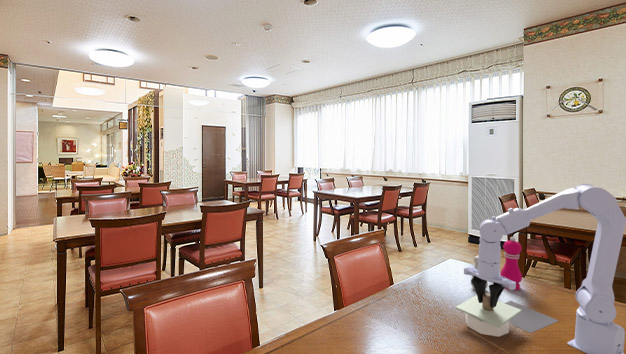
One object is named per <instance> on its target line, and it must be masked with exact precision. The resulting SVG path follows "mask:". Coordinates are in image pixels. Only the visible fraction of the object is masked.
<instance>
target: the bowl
mask: <svg viewBox="0 0 626 354" xmlns="http://www.w3.org/2000/svg"><path fill="white" fill-rule="evenodd" d="M464 317H465V322H466V326H467V327H469V328H470V329H472V330H473V331H475V332H477V333H479V334H480V335H484V336H485V335H487V336H491V337H502V336H504V335H506V334H509V333H510V323H509V321H510V320H509V321H508V322H506V323H505V324H504V325H502V326H501V327H499V328H498V327H496V326H494V325H491V324H489V323H487V322H484V321H482V320H480V319H478V318H475V317H473V316H471V315H469V314H466V313H465V316H464Z"/></svg>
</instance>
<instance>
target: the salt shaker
mask: <svg viewBox="0 0 626 354" xmlns="http://www.w3.org/2000/svg"><path fill="white" fill-rule="evenodd" d="M478 257H479V255H474V256H473V262H474V263H475V264H474V267H473V268H474V269H478ZM471 279H473V276H471ZM470 285H471V287H472V288H471V289H473V291H476V290H475V288H474V286H473V284H472V282H471V281H470ZM488 287H489V285H488V282H487V283H486V288H485V291H486V290H487V288H488Z"/></svg>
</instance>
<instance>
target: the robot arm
mask: <svg viewBox="0 0 626 354" xmlns="http://www.w3.org/2000/svg"><path fill="white" fill-rule="evenodd" d="M579 207H580V208H582V209H584V210H585V211H587V212H588V213H589V214H590V215H591V216H592V217H593V218H594V219H595V220H596V221H597V225H596V230H595V235H594V241H593V244H592V250H591V254H590V259H589V264H588V270H587V274H586V278H584V279H583V280H582V282H581V285H580V287H579V288H578V289H577V291H576V292H575V295H574V297H575V299H576V301H577V303H578V304H579V306H578V308H577V309H576V312H575V313H576V315H575V328H574V330H575V331H574V332H575V333H574V338H573V339H571V340H569V341H568V342H567V343H566V344H567V345H569V346H571V347H572V348H575V349H577V350H579V351H581V352H583V353H586V354H625V353H624V350H625V338H626V331H625V328H624V327H622V326H621V325H619V324H617V323H616V322H614V320H615V319H616V317H617V309H616V307H615V299H616V298H615V293H614V290H613V283H614V279H615V278H614V277H615V274H616V270H617V265H618V260H619V255H620V252H621V246H622V242H623V238H624V233H625V228H626V216H625V215H624V212H623V211H622V209H621V207H620V205H619V204H618V200H617V198H616V196H614V195H613V194H611V193H610V192H609V191H607V190H606V189H605V188H602V187H598V186H594V185H593V184H589V183H581V184H578V185H576V186H575V187H570V188H566V189H564V190H563V191H560V192H558V193H556V194H554V195H552V196H550V197H547V198H546V199H543V200H541V201H539V202H537V203H535V204H533V205H531V206H529V207H526V208H525V209H523V208H521V207H516V208H513V207H510V208H508V209H507V211H506V212H504V213H502V214H500V215H497V216H495V215H493V216H491V219H485V220H483V221H482V222H481V223H480V224H479V227H478V231H479V235H480V237H479V244H478V256H479V257H478V269H474V267H469V266H466V267H464V268H463V275H466V276H468V275H469V276H471V277H472V276H473V279H472V278H471V279H470V283H471V282H472V284H473V286H474V288H475V290H474V291H475V293H476V295H477V297H478V302H479V303H482V295H483V294H485V293H486V290H485V288H486V283H488V282H489V283H492V284H489V285H488V290H489V294H490V307H491V308H494V307H496V305H497V302H498V301H499V299H500V297H501V295H502V293H503V291H504V290H505V289H506V288H505V287H507V288H509V289H508V290H510V291H515V290H514V289H516V282H514V281H511V280H509V279H507V278H505V277H503V276H500V273H501V255H502V254H501V250H502V247H501V241H502V239H503V236H508V235H510V234H513V233H515V232H517V231H520V230H522V229H525V228H528V227H529V226H530V224H531V221H532V220H534V219H536V218H541V217H542V216H545V215H547V214H550V213H553V212H556V211H559V210H561V209H567V210H579V209H580V208H579ZM486 289H487V288H486Z"/></svg>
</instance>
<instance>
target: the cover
mask: <svg viewBox="0 0 626 354" xmlns="http://www.w3.org/2000/svg"><path fill="white" fill-rule="evenodd" d="M505 303H506V302H502V301H499V300H498V302H497V305H496V307H494V308H491V307H490V293H486V292H485V294H483V295H482V303H479V302H478V297H477V294H476V295H474V296H473V297H471V298H468V299H466V300H465V301H463V302H462V303H460V304H458V305H456V306H455V310H457V311H459V312H460V311H461V312H462V313H464V314H465V315H466V314H469V315H471V316H473V317H475V318H478V319H480V320H482V321H484V322H487V323H489V324H491V325H494V326H496V327H498V328H499V327H501V326H502V325H504V324H505V323H506V322H508V321H509V320H511V319H512V318H513V317H515V316H516V315H518V314H519V313H520V312H522V310H521V309H518V308H515V307H513V306H510V305H507V304H505Z"/></svg>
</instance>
